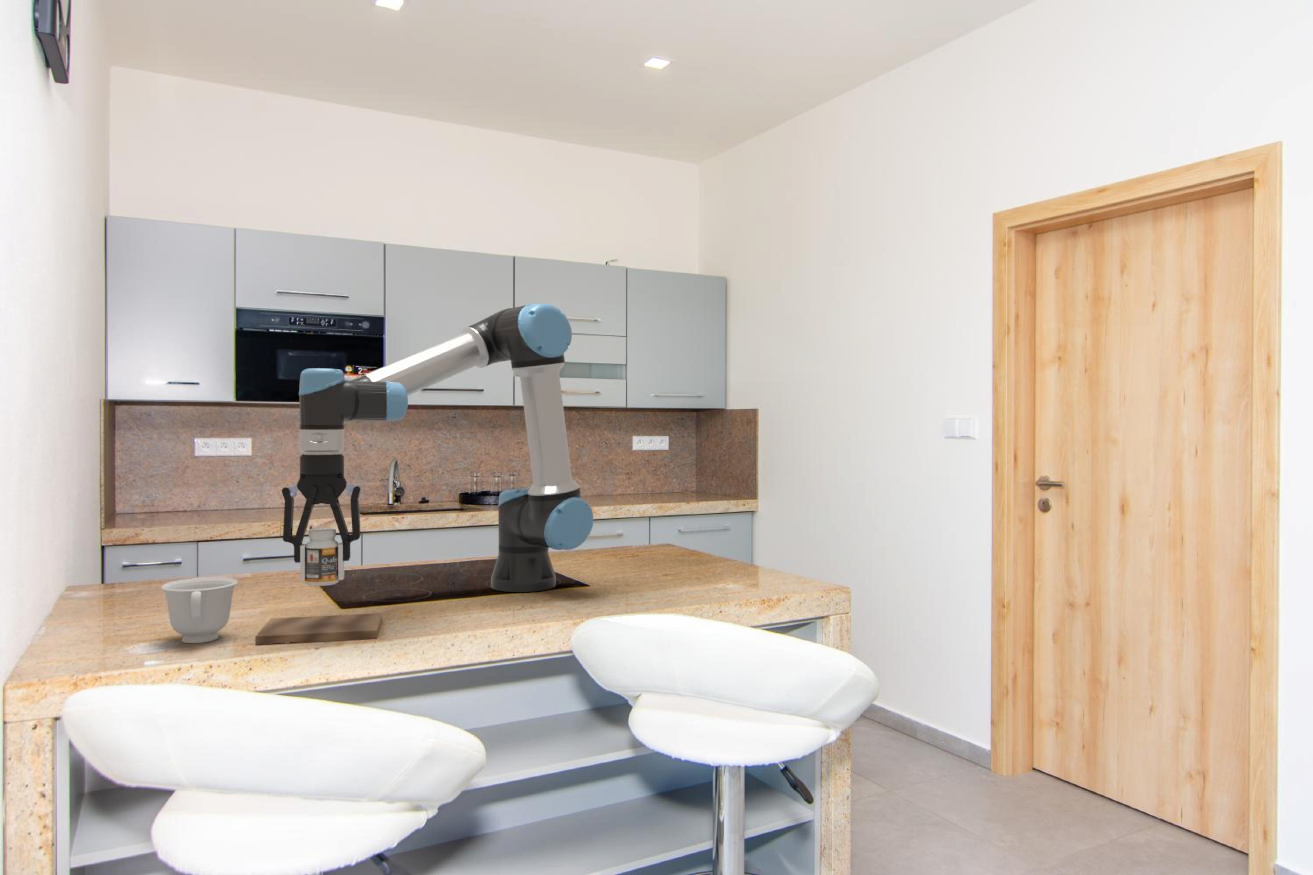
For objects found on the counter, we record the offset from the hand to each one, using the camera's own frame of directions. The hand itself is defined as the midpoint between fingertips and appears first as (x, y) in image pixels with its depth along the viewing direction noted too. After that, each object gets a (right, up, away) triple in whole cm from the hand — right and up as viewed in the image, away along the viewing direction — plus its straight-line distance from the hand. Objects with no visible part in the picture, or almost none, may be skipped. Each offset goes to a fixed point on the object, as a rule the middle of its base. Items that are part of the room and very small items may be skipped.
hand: (322, 579), depth 158 cm
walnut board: (0, -10, 0) cm, 10 cm away
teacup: (-19, -10, -7) cm, 23 cm away
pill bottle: (0, -1, 0) cm, 1 cm away
